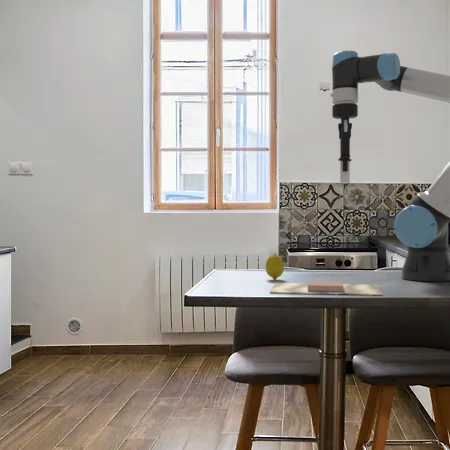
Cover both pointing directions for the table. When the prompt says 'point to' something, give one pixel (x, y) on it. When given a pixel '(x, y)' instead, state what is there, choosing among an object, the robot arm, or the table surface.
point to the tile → (325, 286)
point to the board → (303, 289)
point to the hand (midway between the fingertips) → (344, 182)
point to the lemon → (274, 266)
